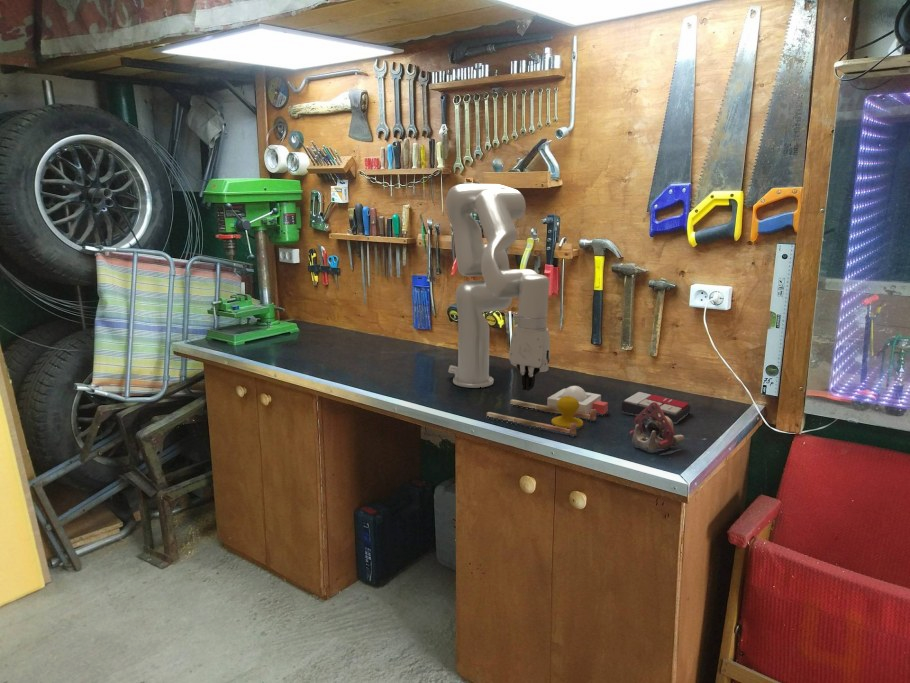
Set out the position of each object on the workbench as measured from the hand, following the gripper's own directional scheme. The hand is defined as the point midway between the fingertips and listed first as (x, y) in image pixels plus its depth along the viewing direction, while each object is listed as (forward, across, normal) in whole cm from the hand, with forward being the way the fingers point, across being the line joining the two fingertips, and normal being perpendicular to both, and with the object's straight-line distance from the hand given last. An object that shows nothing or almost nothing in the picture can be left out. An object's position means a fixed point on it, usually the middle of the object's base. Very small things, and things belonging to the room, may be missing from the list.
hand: (527, 388), depth 179 cm
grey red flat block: (+6, +29, +19) cm, 35 cm away
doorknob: (+6, +13, -3) cm, 15 cm away
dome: (+6, +9, +10) cm, 15 cm away
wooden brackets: (+6, +6, -3) cm, 9 cm away
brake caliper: (+5, +36, -5) cm, 37 cm away
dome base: (+6, +11, +10) cm, 16 cm away
